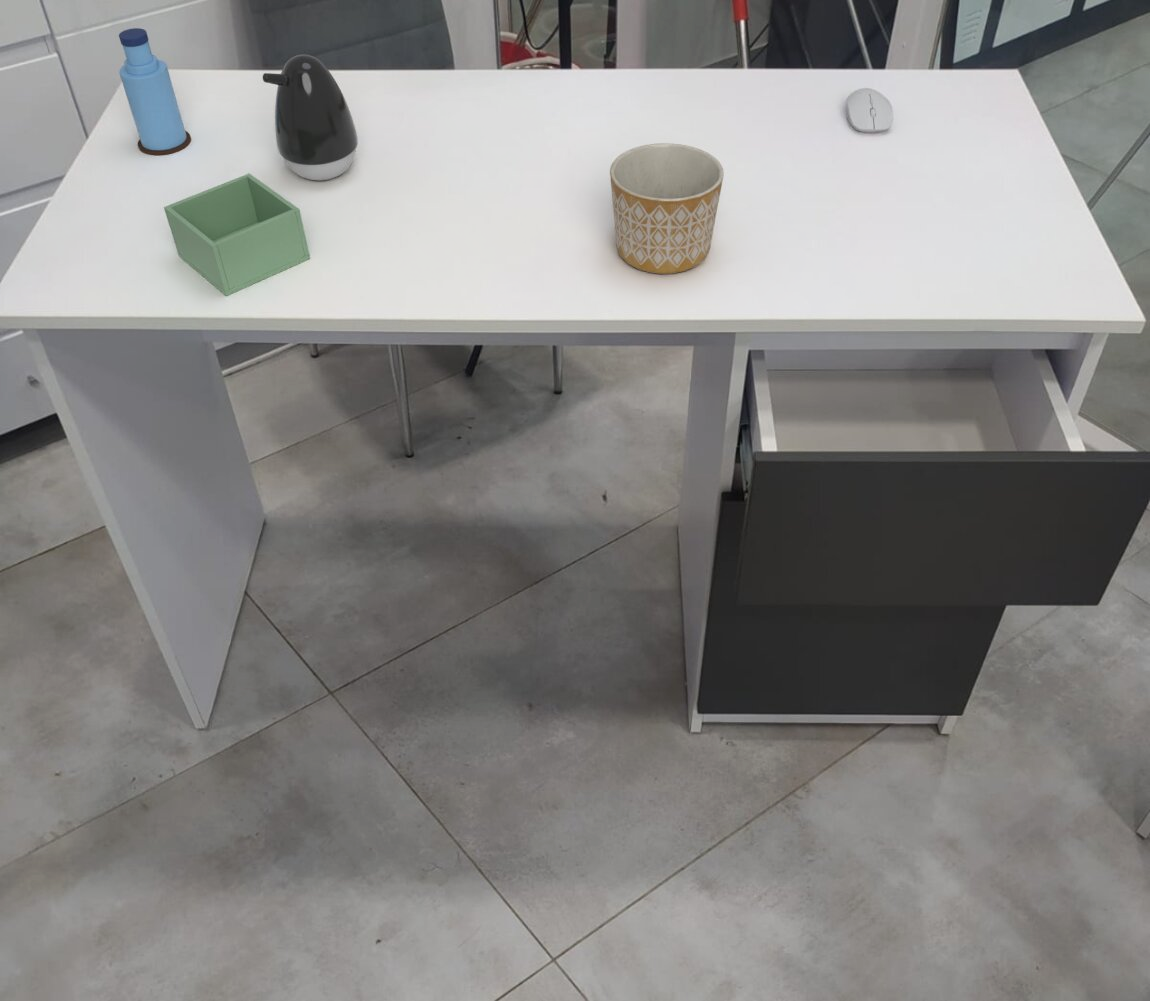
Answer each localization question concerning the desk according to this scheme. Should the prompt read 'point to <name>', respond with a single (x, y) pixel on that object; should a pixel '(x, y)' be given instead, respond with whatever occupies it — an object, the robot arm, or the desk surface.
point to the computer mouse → (869, 111)
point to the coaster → (168, 151)
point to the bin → (238, 233)
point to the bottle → (150, 94)
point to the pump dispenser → (312, 120)
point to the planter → (665, 206)
